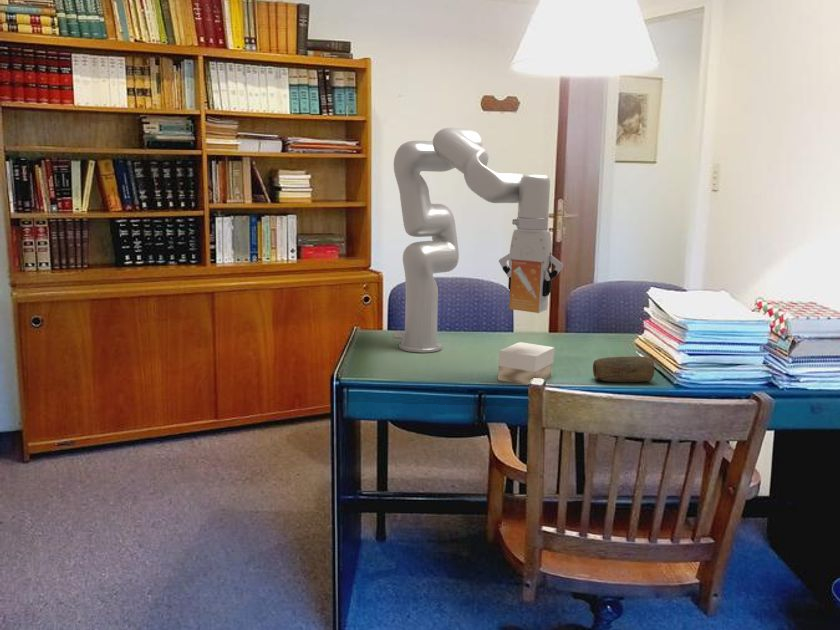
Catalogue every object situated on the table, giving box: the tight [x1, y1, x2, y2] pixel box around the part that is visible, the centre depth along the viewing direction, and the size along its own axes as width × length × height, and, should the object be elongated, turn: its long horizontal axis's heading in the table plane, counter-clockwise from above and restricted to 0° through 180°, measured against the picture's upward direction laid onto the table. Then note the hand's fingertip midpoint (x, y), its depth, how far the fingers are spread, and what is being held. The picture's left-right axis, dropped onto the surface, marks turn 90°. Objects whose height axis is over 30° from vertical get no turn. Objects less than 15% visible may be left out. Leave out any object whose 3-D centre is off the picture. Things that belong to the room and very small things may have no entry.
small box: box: [508, 259, 551, 314], centre depth 195 cm, size 8×6×13 cm
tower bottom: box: [497, 363, 553, 386], centre depth 200 cm, size 10×12×4 cm
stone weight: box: [592, 356, 655, 383], centre depth 198 cm, size 15×7×7 cm, turn 96°
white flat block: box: [498, 341, 555, 372], centre depth 199 cm, size 10×12×4 cm
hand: (529, 293), depth 196 cm, fingers closed on small box, 8 cm apart
